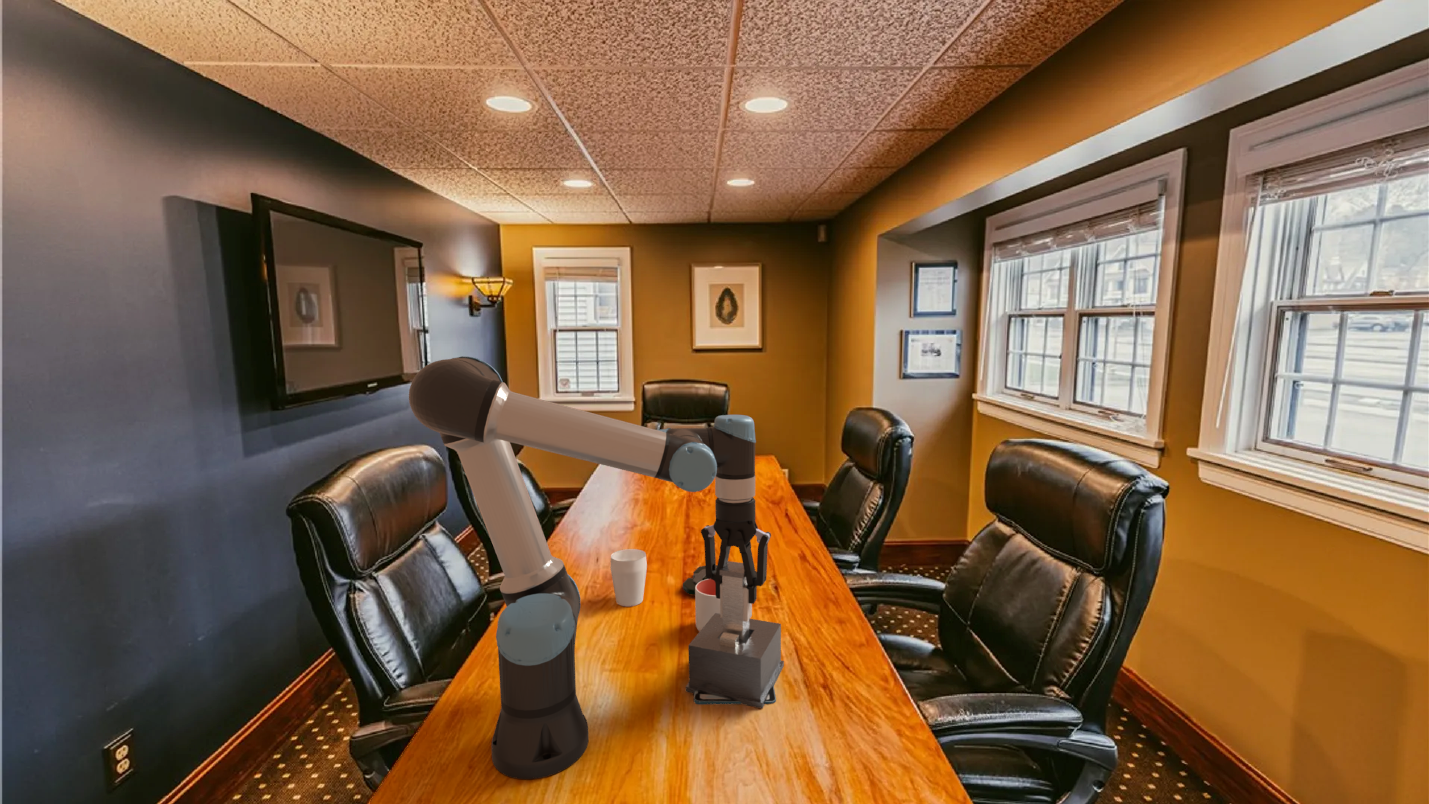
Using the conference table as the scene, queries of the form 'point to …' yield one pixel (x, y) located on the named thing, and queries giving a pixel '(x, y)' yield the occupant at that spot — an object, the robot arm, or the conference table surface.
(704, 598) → the cup
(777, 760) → the conference table surface
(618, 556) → the cup
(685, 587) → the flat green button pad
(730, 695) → the housing
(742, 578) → the column
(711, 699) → the smartphone
